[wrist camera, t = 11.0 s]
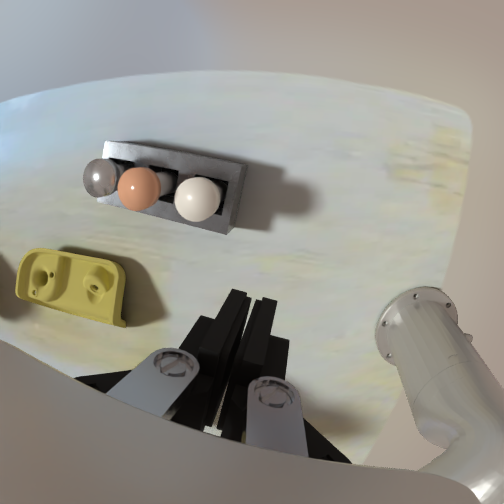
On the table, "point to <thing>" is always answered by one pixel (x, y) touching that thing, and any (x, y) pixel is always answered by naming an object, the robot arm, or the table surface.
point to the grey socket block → (181, 180)
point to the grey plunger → (103, 176)
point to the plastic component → (73, 284)
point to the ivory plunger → (199, 198)
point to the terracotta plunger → (144, 187)
